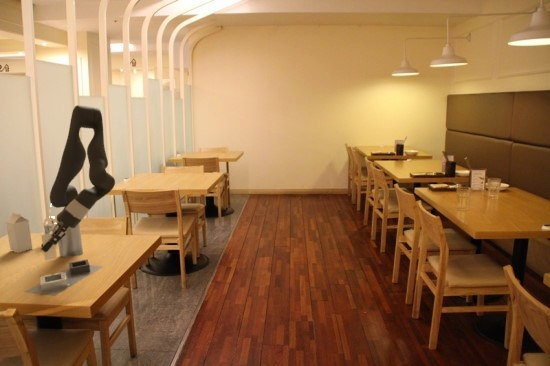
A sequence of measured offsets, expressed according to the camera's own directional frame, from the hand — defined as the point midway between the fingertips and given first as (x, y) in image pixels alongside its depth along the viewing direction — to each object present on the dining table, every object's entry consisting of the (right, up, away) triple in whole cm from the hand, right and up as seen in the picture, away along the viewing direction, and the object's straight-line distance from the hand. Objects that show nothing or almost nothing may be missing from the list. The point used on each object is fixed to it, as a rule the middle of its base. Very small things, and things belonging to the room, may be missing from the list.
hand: (43, 248), depth 162 cm
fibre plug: (+2, -4, +2) cm, 5 cm away
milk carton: (-38, -8, +49) cm, 62 cm away
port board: (+4, -15, +10) cm, 19 cm away
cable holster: (+6, -12, +18) cm, 22 cm away
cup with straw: (-27, -6, +60) cm, 66 cm away
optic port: (+2, -15, +4) cm, 15 cm away
